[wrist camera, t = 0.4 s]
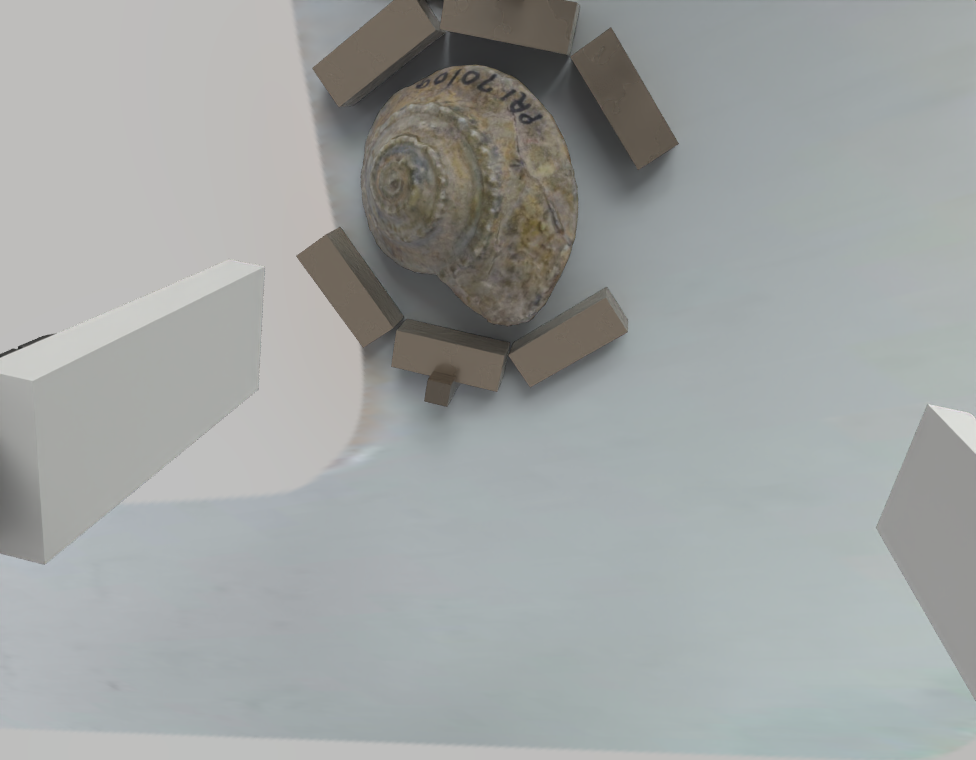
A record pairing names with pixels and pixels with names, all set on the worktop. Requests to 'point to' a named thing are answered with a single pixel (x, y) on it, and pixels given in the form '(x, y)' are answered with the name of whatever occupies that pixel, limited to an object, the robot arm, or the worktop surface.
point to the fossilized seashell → (473, 189)
